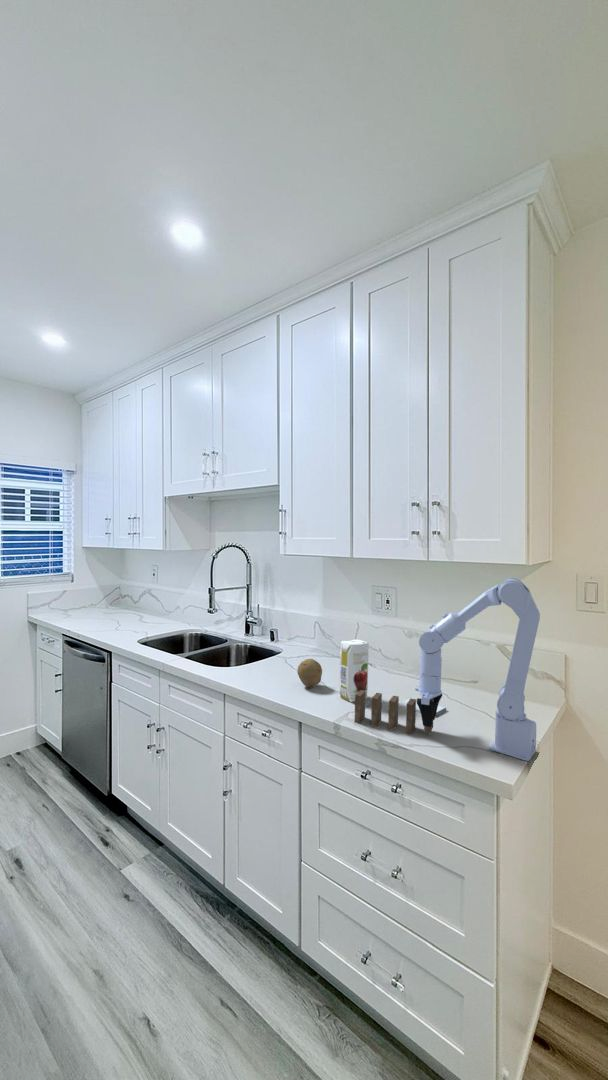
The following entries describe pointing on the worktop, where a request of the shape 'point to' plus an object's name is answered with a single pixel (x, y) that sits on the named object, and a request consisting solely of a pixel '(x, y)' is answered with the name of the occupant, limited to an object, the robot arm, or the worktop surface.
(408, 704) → the domino
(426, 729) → the domino
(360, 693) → the domino
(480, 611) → the robot arm
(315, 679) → the brown round lump
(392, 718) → the domino
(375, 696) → the domino
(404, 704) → the external hard drive
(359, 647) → the juice carton
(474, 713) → the worktop surface
